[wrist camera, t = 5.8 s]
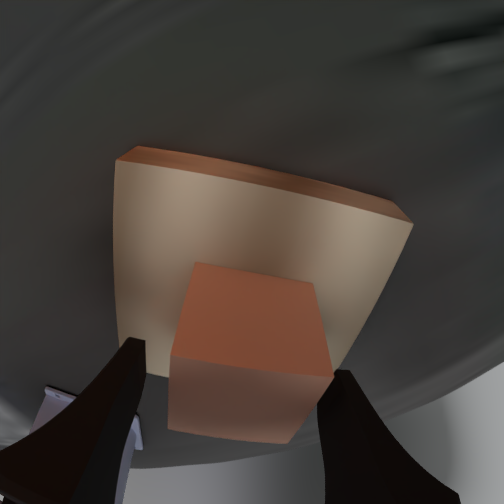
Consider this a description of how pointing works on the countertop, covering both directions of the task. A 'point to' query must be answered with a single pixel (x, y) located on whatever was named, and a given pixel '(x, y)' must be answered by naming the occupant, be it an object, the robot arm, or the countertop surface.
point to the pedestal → (243, 241)
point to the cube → (246, 356)
